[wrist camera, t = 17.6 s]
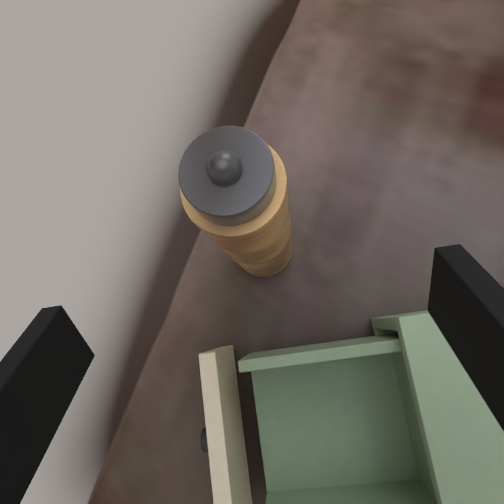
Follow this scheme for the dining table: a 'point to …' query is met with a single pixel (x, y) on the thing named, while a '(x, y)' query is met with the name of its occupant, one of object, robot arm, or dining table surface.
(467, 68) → the dining table surface
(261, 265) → the pepper mill
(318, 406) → the drawer
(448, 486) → the cabinet
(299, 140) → the dining table surface
